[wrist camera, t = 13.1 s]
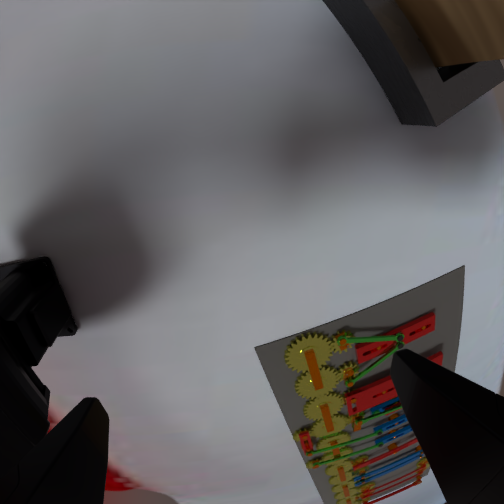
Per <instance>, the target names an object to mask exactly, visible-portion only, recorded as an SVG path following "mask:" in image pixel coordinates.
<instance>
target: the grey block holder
mask: <svg viewBox="0 0 504 504" xmlns="http://www.w3.org/2000/svg"><path fill="white" fill-rule="evenodd" d="M323 1H324V3H325V4H326V5H327V7H328V8H329V9H330V10H331V12H332V13H333V14H334V16H335V17H336V18H337V20H338V21H339V22H340V24H341V25H342V27H343V28H344V29H345V31H346V32H347V34H348V35H349V36H350V38H351V39H352V41H353V42H354V44H355V45H356V47H357V48H358V50H359V51H360V53H361V54H362V56H363V57H364V59H365V61H366V62H367V64H368V65H369V67H370V69H371V70H372V72H373V73H374V75H375V77H376V78H377V80H378V82H379V83H380V85H381V87H382V89H383V90H384V92H385V94H386V96H387V97H388V99H389V101H390V103H391V105H392V107H393V108H394V110H395V112H396V114H397V116H398V118H399V120H400V122H401V124H406V125H422V126H435V127H437V126H438V125H440V124H441V123H443V122H444V121H446V120H447V119H448V118H450V117H451V116H453V115H454V114H456V113H457V112H459V111H460V110H462V109H463V108H464V107H466V106H467V105H469V104H470V103H472V102H473V101H475V100H476V99H478V98H479V97H480V96H482V95H483V94H485V93H486V92H488V91H489V90H491V89H492V88H494V87H495V86H496V85H498V84H499V83H501V82H502V81H504V69H503V66H502V64H501V62H500V60H489V61H480V62H471V63H463V64H456V65H449V66H444V67H442V68H440V69H438V70H437V69H436V67H435V66H434V64H433V62H432V60H431V58H430V56H429V54H428V53H427V51H426V49H425V47H424V46H423V44H422V42H421V40H420V39H419V37H418V35H417V34H416V32H415V31H414V29H413V27H412V26H411V24H410V23H409V21H408V19H407V18H406V16H405V15H404V13H403V12H402V10H401V9H400V7H399V6H398V5H397V3H396V2H395V0H323Z"/></svg>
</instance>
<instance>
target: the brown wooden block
mask: <svg viewBox="0 0 504 504" xmlns="http://www.w3.org/2000/svg"><path fill="white" fill-rule="evenodd" d="M395 2H396V3H397V5H398V6H399V7H400V9H401V10H402V12H403V13H404V15H405V16H406V18H407V19H408V21H409V23H410V24H411V26H412V27H413V29H414V31H415V32H416V34H417V35H418V37H419V39H420V40H421V42H422V44H423V46H424V47H425V49H426V51H427V53H428V54H429V56H430V58H431V60H432V62H433V64H434V66H435V67H436V68H437V67H443V66H449V65H456V64H463V63H471V62H480V61H489V60H500V59H504V0H395Z"/></svg>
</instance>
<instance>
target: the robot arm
mask: <svg viewBox="0 0 504 504" xmlns="http://www.w3.org/2000/svg"><path fill="white" fill-rule="evenodd" d="M43 262H45V263H46V265H47V266H45V265H44V263H43ZM70 328H72V330H71V329H70ZM76 332H77V326H76V324H75V321H74V319H73V317H72V314H71V311H70V308H69V306H68V303H67V301H66V298H65V296H64V293H63V291H62V288H61V286H60V284H59V282H58V279H57V277H56V274H55V271H54V268H53V265H52V262H51V260H50V259H49V258H48V257H40V258H36V259H31V260H26V261H22V262H17V263H13V264H9V265H4V266H0V504H103V501H104V491H105V482H106V473H107V465H108V441H109V416H108V414H107V412H106V411H105V409H104V407H103V406H102V404H101V403H100V401H99V400H98V399H97V398H95V397H86V398H84V399H83V400H82V401H81V402H80V403H79V404H78V405H77V406H75V407H74V408H73V409H72V410H71V411H70V412H69V413H68V414H67V415H66V416H65V417H64V418H63V419H62V420H61V421H60V422H59V423H58V424H57V425H56V426H55V427H54V428H53V429H52V430H51V431H50V432H49V433H48V434H47V432H48V430H49V427H50V422H49V421H48V420H47V419H48V408H49V398H50V390H49V389H48V388H47V386H46V385H43V383H42V382H41V381H40V379H39V378H38V376H37V375H36V374H35V372H34V371H33V370H32V368H31V367H32V366H37V365H38V364H39V362H40V360H41V359H42V357H43V355H44V354H45V352H46V350H47V349H48V347H51V346H52V345H53V343H54V341H55V340H56V338H57V337H60V336H73V335H75V334H76ZM390 376H391V379H392V382H393V384H394V387H395V390H396V392H397V395H398V397H399V400H400V403H401V406H402V408H403V411H404V413H405V416H406V418H407V420H408V422H409V424H410V426H411V428H412V430H413V432H414V434H415V436H416V438H417V440H418V442H419V444H420V446H421V448H422V450H423V453H424V455H425V457H426V459H427V461H428V463H429V465H430V467H431V469H432V471H433V473H434V475H435V478H436V480H437V482H438V484H439V486H440V488H441V491H442V493H443V495H444V497H445V499H446V502H447V504H504V397H503V396H501V395H499V394H495V393H494V392H492V391H490V390H488V389H486V388H484V387H482V386H480V385H478V384H476V383H474V382H472V381H470V380H468V379H466V378H464V377H462V376H460V375H458V374H456V373H455V372H453V371H451V370H449V369H447V368H445V367H443V366H441V365H439V364H437V363H435V362H433V361H431V360H429V359H427V358H425V357H423V356H421V355H419V354H417V353H415V352H413V351H411V350H409V349H407V348H404V349H401V350H398V351H395V352H394V354H393V357H392V363H391V369H390Z"/></svg>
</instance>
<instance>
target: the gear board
mask: <svg viewBox="0 0 504 504" xmlns="http://www.w3.org/2000/svg"><path fill="white" fill-rule="evenodd" d="M464 275H465V266H464V265H463V266H461V267H459V268H457V269H455V270H453V271H451V272H449V273H447V274H445V275H442V276H440V277H438V278H436V279H434V280H432V281H429V282H427V283H425V284H423V285H420V286H418V287H416V288H414V289H411V290H409V291H407V292H404V293H402V294H400V295H397V296H395V297H393V298H390V299H388V300H385V301H383V302H380V303H378V304H376V305H373V306H371V307H368V308H365V309H363V310H360V311H358V312H355V313H353V314H350V315H347V316H345V317H342V318H339V319H337V320H334V321H331V322H329V323H326V324H323V325H320V326H317V327H315V328H312V329H309V330H306V331H303V332H300V333H297V334H294V335H291V336H288V337H285V338H282V339H279V340H276V341H273V342H270V343H267V344H264V345H260V346H257V347H254V348H255V351H256V353H257V355H258V358H259V360H260V362H261V365H262V367H263V370H264V372H265V374H266V377H267V379H268V381H269V383H270V386H271V388H272V390H273V393H274V395H275V397H276V400H277V402H278V404H279V406H280V409H281V411H282V413H283V416H284V418H285V420H286V422H287V425H288V427H289V429H290V431H291V433H292V436H293V439H294V440H295V442H296V444H297V447H298V449H299V451H300V453H301V455H302V458H303V460H304V462H305V464H306V467H307V468H308V471H309V473H310V475H311V477H312V479H313V481H314V483H315V486H316V488H317V490H318V492H319V494H320V496H321V498H322V500H323V502H324V504H362V503H363V504H373V503H375V502H378V501H381V500H383V499H385V498H388V497H390V496H393V495H395V494H397V493H399V492H402V491H404V490H406V489H408V488H410V487H412V486H416V485H417V484H420V483H421V482H422V481H421V478H422V477H424V476H426V475H428V472H429V469H430V465H429V463H428V461H427V459H426V457H425V455H424V453H423V450H422V448H421V446H420V444H419V442H418V440H417V438H416V436H415V434H414V432H413V430H412V428H411V426H410V424H409V422H408V420H407V418H406V416H405V413H404V411H403V408H402V406H401V403H400V400H399V397H398V395H397V392H396V390H395V387H394V384H393V382H392V379H391V376H390V369H391V363H392V357H393V354H394V352H395V351H398V350H401V349H404V348H407V349H409V350H411V351H413V352H415V353H417V354H419V355H421V356H423V357H425V358H427V359H429V360H431V361H433V362H435V363H437V364H439V365H441V366H443V367H445V368H447V369H449V370H451V371H453V372H455V366H456V360H457V353H458V346H459V339H460V330H461V321H462V310H463V296H464ZM414 481H415V482H414ZM412 482H414V483H412ZM409 483H412V484H411V485H409V486H406V487H404V488H402V489H400V490H398V491H395V492H393V493H391V494H388V495H386V496H384V497H381V498H379V499H376V500H374V501H371V502H368V501H369V500H372V499H375V498H377V497H380V496H382V495H385V494H387V493H389V492H392V491H394V490H396V489H399V488H401V487H403V486H405V485H407V484H409ZM367 502H368V503H367Z"/></svg>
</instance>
